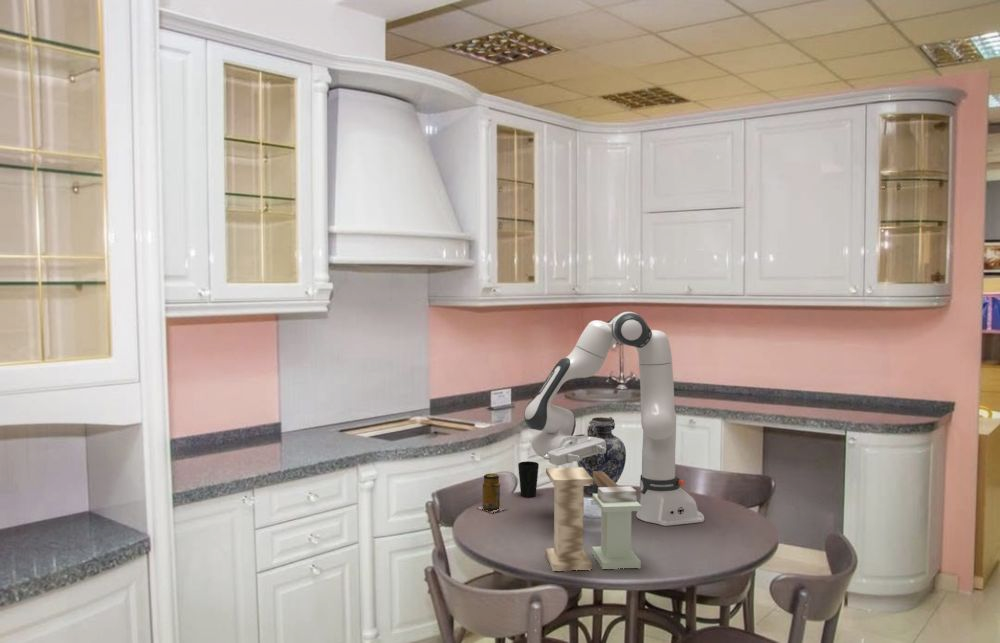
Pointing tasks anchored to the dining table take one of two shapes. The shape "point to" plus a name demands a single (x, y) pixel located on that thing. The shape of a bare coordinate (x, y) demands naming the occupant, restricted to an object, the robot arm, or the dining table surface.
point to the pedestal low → (616, 535)
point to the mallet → (612, 489)
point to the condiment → (491, 492)
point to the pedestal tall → (568, 519)
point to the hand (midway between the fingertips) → (592, 454)
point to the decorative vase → (608, 461)
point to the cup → (528, 478)
